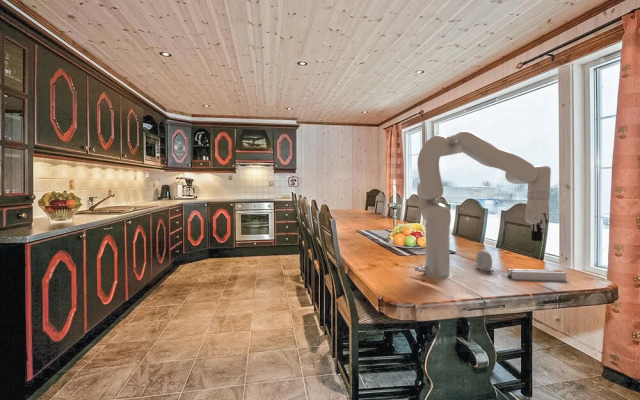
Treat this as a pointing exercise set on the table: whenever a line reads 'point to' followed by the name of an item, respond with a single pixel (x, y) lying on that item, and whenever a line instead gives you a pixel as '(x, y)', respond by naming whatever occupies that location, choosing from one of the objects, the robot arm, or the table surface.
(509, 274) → the arm
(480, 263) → the grey rounded slab
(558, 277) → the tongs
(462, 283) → the table surface
